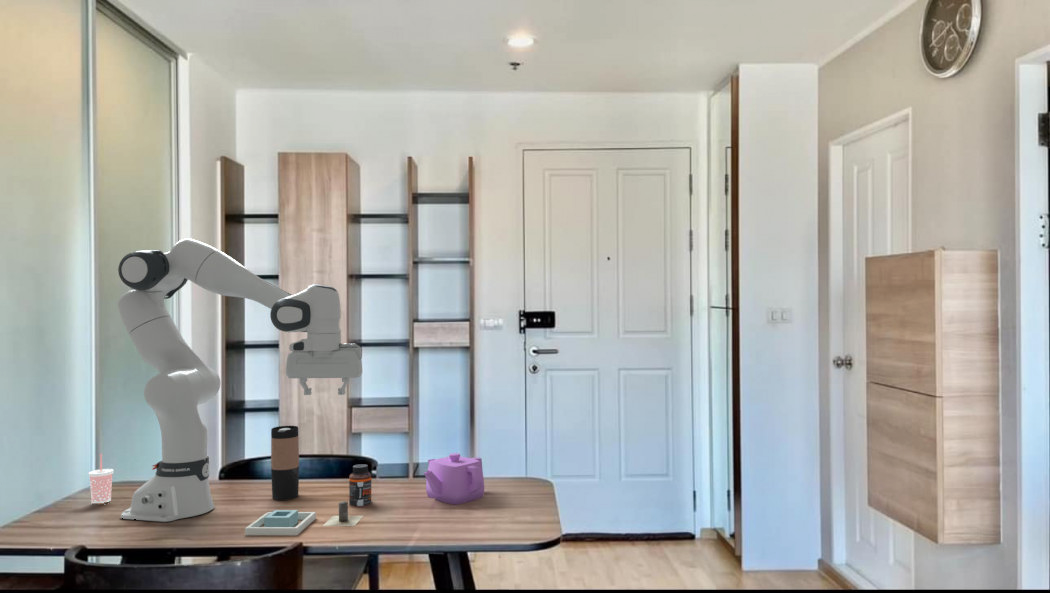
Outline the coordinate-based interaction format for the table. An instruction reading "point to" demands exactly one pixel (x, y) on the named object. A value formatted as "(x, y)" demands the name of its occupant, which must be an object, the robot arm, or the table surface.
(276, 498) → the travel mug
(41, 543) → the table surface
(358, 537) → the table surface
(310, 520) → the white square frame
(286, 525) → the collar
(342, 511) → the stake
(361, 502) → the supplement bottle
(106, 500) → the beverage cup
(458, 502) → the teakettle
